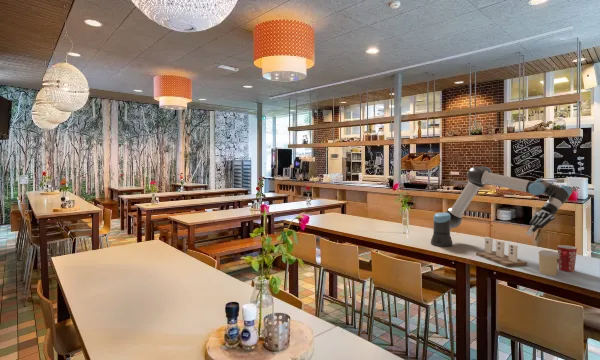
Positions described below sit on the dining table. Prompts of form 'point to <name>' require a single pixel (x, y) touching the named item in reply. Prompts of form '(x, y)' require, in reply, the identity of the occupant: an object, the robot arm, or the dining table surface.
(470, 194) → the robot arm
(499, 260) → the tap board
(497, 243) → the tile
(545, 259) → the coffee cup
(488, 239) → the tile
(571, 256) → the mug
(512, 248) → the tile
